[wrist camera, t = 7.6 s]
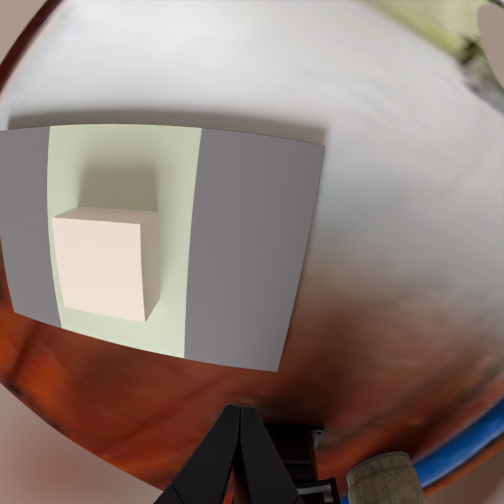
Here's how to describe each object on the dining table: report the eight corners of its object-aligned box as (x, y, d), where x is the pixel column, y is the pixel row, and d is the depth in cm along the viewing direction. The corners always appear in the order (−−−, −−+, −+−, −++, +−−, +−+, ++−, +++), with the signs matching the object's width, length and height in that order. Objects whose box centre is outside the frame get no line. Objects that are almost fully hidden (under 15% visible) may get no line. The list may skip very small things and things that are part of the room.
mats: (277, 371, 22) (277, 371, 22) (14, 311, 21) (14, 311, 21) (325, 146, 16) (325, 145, 16) (-1, 131, 16) (-2, 131, 16)
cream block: (159, 299, 20) (145, 322, 17) (85, 287, 20) (64, 306, 17) (158, 211, 18) (140, 224, 15) (77, 206, 18) (52, 217, 15)
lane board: (276, 362, 23) (277, 371, 22) (20, 306, 22) (14, 311, 21) (321, 146, 17) (325, 146, 16) (7, 130, 17) (-1, 131, 16)
